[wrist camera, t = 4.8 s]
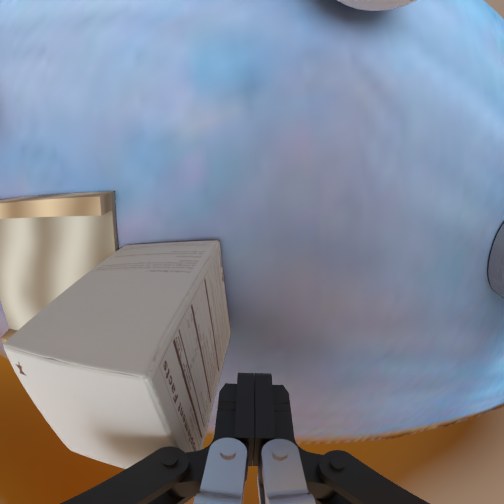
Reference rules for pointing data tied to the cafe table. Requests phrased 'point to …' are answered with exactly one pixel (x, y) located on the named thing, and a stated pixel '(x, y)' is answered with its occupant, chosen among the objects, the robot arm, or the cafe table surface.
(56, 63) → the cafe table surface
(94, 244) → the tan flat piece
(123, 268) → the supplement box
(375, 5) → the sauce bottle
